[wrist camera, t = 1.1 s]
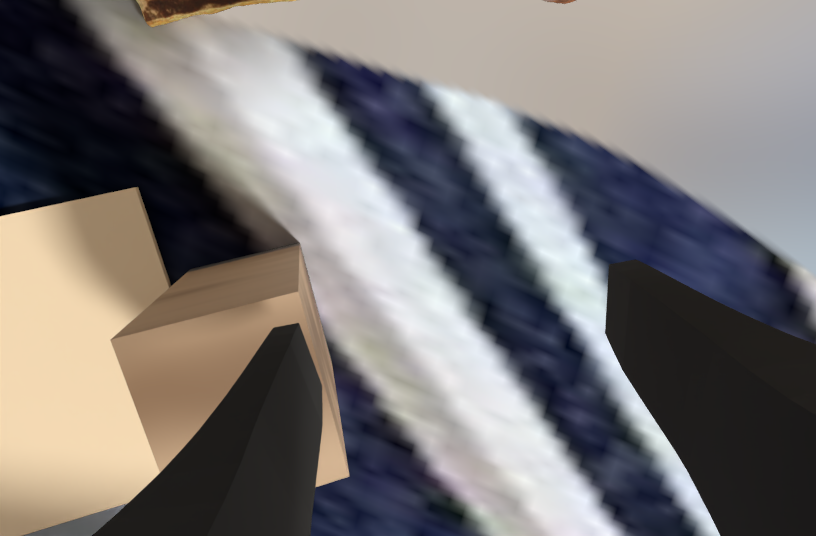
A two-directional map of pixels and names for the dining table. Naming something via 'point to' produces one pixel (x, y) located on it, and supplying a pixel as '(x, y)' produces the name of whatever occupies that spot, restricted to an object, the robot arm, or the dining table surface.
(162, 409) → the small brown box
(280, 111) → the dining table surface
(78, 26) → the dining table surface
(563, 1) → the sauce bottle
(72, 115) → the dining table surface
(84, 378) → the cork mat
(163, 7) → the shard
